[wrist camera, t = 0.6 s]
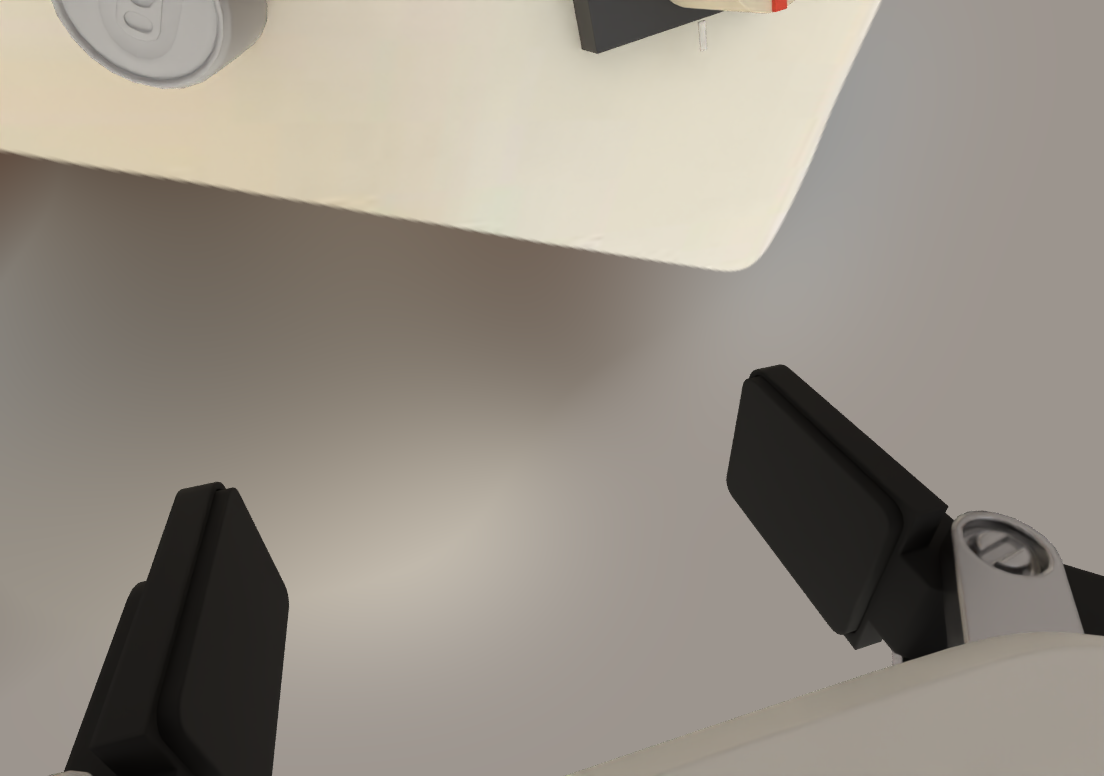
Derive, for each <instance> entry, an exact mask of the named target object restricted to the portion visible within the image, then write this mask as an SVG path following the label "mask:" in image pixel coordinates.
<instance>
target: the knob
mask: <svg viewBox="0 0 1104 776" xmlns="http://www.w3.org/2000/svg"><path fill="white" fill-rule="evenodd" d="M670 1H671V2H673V3H674V4H676V5H678V6H681V7H685V8H697V9H710V10H724V11H737V12H750V13H771V12H777V11H780V10H783V9H786V8H787V6H788V5H789V4H791V3H792V2H793V1H795V0H670Z"/></svg>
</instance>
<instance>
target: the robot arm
mask: <svg viewBox="0 0 1104 776" xmlns="http://www.w3.org/2000/svg"><path fill="white" fill-rule="evenodd" d="M726 481H727V486H728V490H729V492H730V494H731V495H732V497H733V498H734V499H735V501H736V502H737V504H738V505H739V506H740V508H741V509H742V510H743V511H744V513H745V514H746V515H747V517H748V518H749V520H750V521H751V522H752V524H753V525H754V526H755V528H756V529H757V530H758V532H759V533H760V534H761V536H762V537H763V538H764V540H765V541H766V542H767V544H768V545H769V546H770V547H771V549H772V550H773V551H774V553H775V554H776V556H777V557H778V558H779V559H780V561H781V562H782V564H783V565H784V566H785V568H786V569H787V570H788V572H789V573H790V574H791V576H792V577H793V578H794V579H795V581H796V582H797V584H798V585H799V586H800V588H801V589H802V590H803V592H804V593H805V594H806V595H807V597H808V598H809V599H810V601H811V602H812V604H813V605H814V606H815V608H816V609H817V610H818V611H819V613H820V614H821V615H822V617H823V618H824V620H825V621H826V622H827V624H828V625H829V626H830V627H831V629H832V630H833V631H835V632H836V633H837V634H840V635H844V636H845V637H846V638H847V640H848V641H849V642H850V644H851V645H852V646H853V648H854V649H855V650H857V649H860V648H863V647H866V646H869V645H872V644H875V643H878V642H881V641H882V639H883V640H884V641H885V642H886V643H887V644H888V646H889V647H890V648H891V650H892V663H893V664H892V666H891V667H887V668H884V669H881V670H878V671H875V672H871V673H869V674H865V675H862V676H860V677H856V678H853V679H850V680H847V681H844V682H841V683H838V684H835V685H832V686H830V687H826V688H823V689H820V690H817V691H815V692H811V693H808V694H806V695H802V696H799V697H796V698H794V699H791V700H788V701H784V702H781V703H779V704H776V705H773V706H770V707H767V708H764V709H761V710H758V711H755V712H752V713H749V714H746V715H743V716H740V717H737V718H734V719H731V720H728V721H725V722H722V723H719V724H716V725H713V726H710V727H707V728H704V729H701V730H698V731H695V732H693V733H690V734H687V735H684V736H681V737H678V738H675V739H672V740H669V741H666V742H663V743H660V744H657V745H654V746H651V747H648V748H645V749H642V750H639V751H637V752H634V753H631V754H628V755H625V756H622V757H619V758H616V759H613V760H610V761H607V762H604V763H601V764H599V765H595V766H593V767H590V768H587V769H584V770H581V771H578V772H575V773H572V774H569V775H566V776H1104V576H1101V575H1098V574H1094V573H1091V572H1088V571H1085V570H1081V569H1078V568H1075V567H1071V566H1068V565H1065V564H1063V563H1062V560H1061V558H1060V556H1059V554H1058V552H1057V550H1056V548H1055V547H1054V546H1053V545H1052V544H1051V543H1050V542H1049V541H1048V540H1047V539H1046V538H1045V536H1043V535H1042V534H1040V533H1039V532H1038V531H1036V530H1035V529H1033V528H1032V527H1030V526H1029V525H1027V524H1025V523H1022V522H1021V521H1019V520H1017V519H1015V518H1012V517H1009V516H1005V515H1002V514H999V513H994V512H987V511H971V512H966V513H964V514H962V515H959V516H958V517H957V518H956V519H955V520H953V519H952V518H951V517H950V516H948V515H947V514H946V513H945V512H946V510H947V508H948V505H946V504H945V503H944V502H943V501H942V500H941V499H939V498H938V497H937V496H936V495H935V494H934V493H933V492H931V491H930V490H929V489H928V488H927V487H926V486H924V485H923V484H922V483H921V482H920V481H919V480H917V479H916V478H915V477H914V476H913V475H912V474H911V473H909V472H908V471H907V470H906V469H905V468H904V467H903V466H901V465H900V464H899V463H898V462H897V461H895V460H894V459H893V458H892V457H891V456H890V455H889V454H887V453H886V452H885V451H884V450H883V449H882V448H881V447H879V446H878V445H877V444H876V443H875V442H874V441H873V440H871V439H870V438H869V437H868V436H867V435H866V434H864V433H863V432H862V431H861V430H860V429H858V428H857V427H856V426H855V425H854V424H853V423H852V422H851V421H849V420H848V419H847V418H846V417H845V416H844V415H842V414H841V413H840V412H839V411H838V410H837V409H836V408H834V407H833V406H832V405H831V404H830V403H829V402H827V401H826V400H825V399H824V398H823V397H822V396H821V395H819V394H818V393H817V392H816V391H815V390H814V389H812V388H811V387H810V386H809V385H808V384H807V383H805V382H804V381H803V380H802V379H801V378H800V377H799V376H797V375H796V374H795V373H794V372H793V371H792V370H790V369H789V368H788V367H787V366H785V365H775V366H771V367H766V368H761V369H757V370H754V371H753V372H752V373H751V374H750V377H749V379H746V380H745V381H744V383H743V387H742V394H741V399H740V405H739V410H738V415H737V421H736V427H735V433H734V439H733V444H732V449H731V455H730V461H729V466H728V472H727V479H726ZM288 610H289V599H288V593H287V589H286V587H285V584H284V583H283V580H282V578H281V576H280V575H279V572H278V570H277V568H276V566H275V564H274V562H273V560H272V558H271V556H270V554H269V552H268V550H267V548H266V546H265V544H264V542H263V541H262V538H261V536H260V534H259V532H258V530H257V528H256V526H255V524H254V522H253V520H252V518H251V516H250V514H249V512H248V510H247V508H246V506H245V504H244V502H243V500H242V498H241V496H240V494H239V492H238V491H237V489H236V488H229V489H226V488H225V487H224V485H223V484H222V483H221V482H214V483H209V484H204V485H200V486H195V487H190V488H185V489H181V490H180V491H179V492H178V493H177V495H176V497H175V500H174V503H173V506H172V509H171V512H170V515H169V517H168V520H167V524H166V526H165V529H164V532H163V535H162V538H161V540H160V544H159V546H158V549H157V552H156V555H155V558H154V561H153V563H152V567H151V569H150V573H149V575H148V578H147V581H144V582H140V583H138V584H137V585H136V586H135V587H134V588H133V589H132V591H131V593H130V595H129V597H128V599H127V602H126V604H125V607H124V610H123V613H122V615H121V618H120V621H119V623H118V626H117V629H116V632H115V634H114V637H113V640H112V642H111V645H110V648H109V651H108V653H107V656H106V659H105V661H104V664H103V667H102V670H101V672H100V675H99V678H98V680H97V683H96V686H95V689H94V691H93V694H92V697H91V700H90V702H89V705H88V708H87V710H86V713H85V716H84V719H83V721H82V724H81V727H80V729H79V732H78V735H77V738H76V740H75V743H74V746H73V748H72V751H71V754H70V757H69V759H68V762H67V765H66V767H65V770H64V772H61V773H57V774H52V775H50V776H272V769H273V759H274V749H275V740H276V730H277V719H278V710H279V700H280V690H281V680H282V670H283V660H284V650H285V641H286V631H287V621H288Z"/></svg>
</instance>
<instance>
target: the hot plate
mask: <svg viewBox="0 0 1104 776" xmlns="http://www.w3.org/2000/svg"><path fill="white" fill-rule="evenodd" d="M573 2H574V8H575V13H576V19H577V24H578V29H579V35H580V40H581V45H582V49H583V50H586V51H590V52H593V53H597V54H598V53H601V52H604V51H607V50H610V49H613V48H616V47H619V46H622V45H625V44H628V43H631V42H634V41H637V40H640V39H643V38H645V37H648V36H651V35H654V34H657V33H660V32H663V31H666V30H669V29H672V28H675V27H678V26H681V25H684V24H687V23H690V22H693V21H696V20H699V19H702V18H705V17H708V16H711V15H714V14H717V13H719V12H722V11H724V10H710V9H697V8H685V7H681V6H678V5H676V4H674V3H673V2H671V1H670V0H573ZM698 29H699V42H700V51H704V50H707V38H706V24H705V20H703V21H700V22H698Z"/></svg>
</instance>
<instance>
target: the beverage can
mask: <svg viewBox="0 0 1104 776" xmlns="http://www.w3.org/2000/svg"><path fill="white" fill-rule="evenodd" d="M51 1H52V3H53V6H54V9H55V11H56V14H57V16H58V17H59V19H60V20H61V22H62V23H63V25H64V26H65V28H66V29H67V31H68V32H69V34H70V36H71V37H72V38H73V39H74V40H75V41H76V43H77V44H78V45H79V46H80V47H81V48H82V49H83V50H84V51H85V52H86V53H87V54H88V55H89V56H90V57H91V58H92V59H94V60H95V61H97V62H98V63H99V64H101V65H102V66H104V67H105V68H107V69H108V70H109V71H111V72H112V73H114V74H117V75H119V76H121V77H123V78H125V79H127V80H130V81H132V82H134V83H138V84H143V85H147V86H152V87H156V88H161V89H175V88H186V87H189V86H192V85H195V84H198V83H201V82H203V81H205V80H206V79H208V78H209V77H211V76H212V75H214V74H215V73H216V72H218V71H219V70H221V69H222V68H224V67H225V66H226V65H228V64H229V63H230V62H232V61H233V60H234V59H236V58H237V57H239V56H240V55H241V54H242V53H243V52H244V51H245V50H246V49H248V48H249V47H250V46H252V45H253V44H254V43H255V42H256V40H257V39H258V38H259V37H260V35H261V34H262V32H263V29H264V27H265V24H266V21H267V1H266V0H51Z"/></svg>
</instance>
